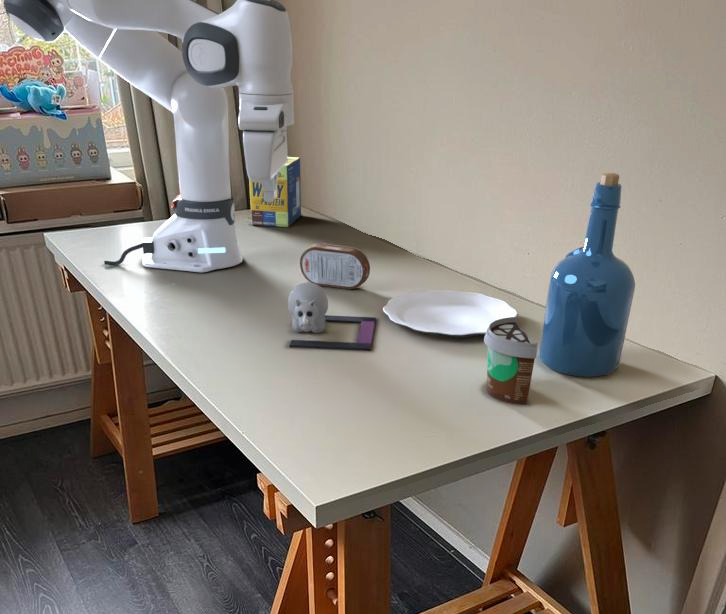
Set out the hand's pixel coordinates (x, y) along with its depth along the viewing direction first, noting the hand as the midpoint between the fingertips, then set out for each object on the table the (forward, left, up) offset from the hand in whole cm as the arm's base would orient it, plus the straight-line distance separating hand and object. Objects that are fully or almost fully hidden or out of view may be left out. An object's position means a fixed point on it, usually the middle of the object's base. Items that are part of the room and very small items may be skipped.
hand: (270, 199), depth 135 cm
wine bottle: (+54, -15, -22) cm, 60 cm away
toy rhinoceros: (+7, -7, -22) cm, 24 cm away
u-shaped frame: (+12, -6, -22) cm, 25 cm away
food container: (+40, -28, -22) cm, 53 cm away
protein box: (-13, +80, -22) cm, 84 cm away
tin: (+9, +22, -22) cm, 32 cm away
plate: (+33, +4, -22) cm, 40 cm away
